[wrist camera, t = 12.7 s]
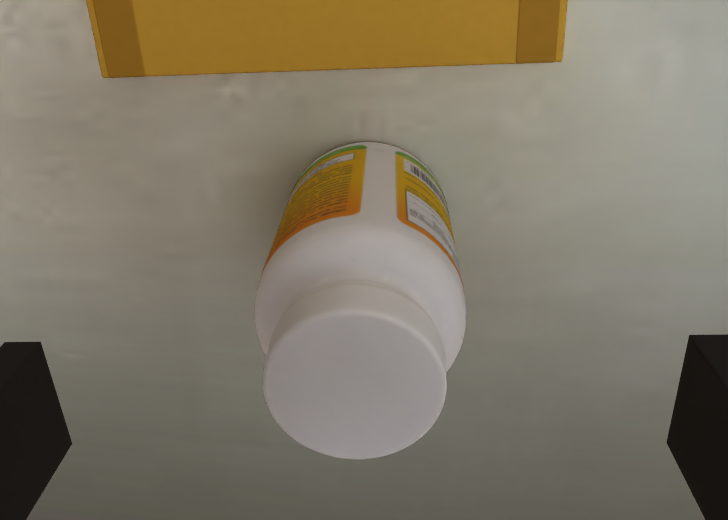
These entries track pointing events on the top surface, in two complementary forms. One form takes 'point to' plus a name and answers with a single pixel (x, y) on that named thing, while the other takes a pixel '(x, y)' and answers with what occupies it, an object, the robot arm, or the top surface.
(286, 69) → the yellow tray
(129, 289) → the top surface
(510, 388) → the top surface
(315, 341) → the supplement bottle
